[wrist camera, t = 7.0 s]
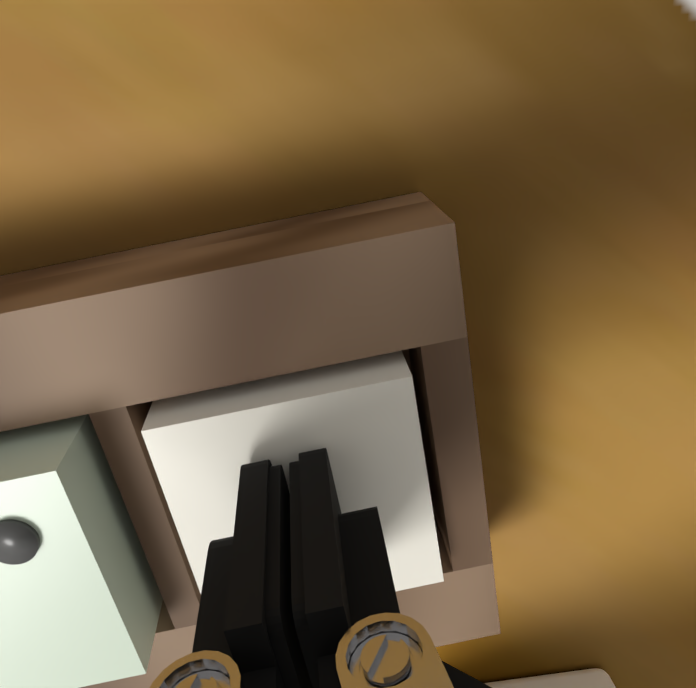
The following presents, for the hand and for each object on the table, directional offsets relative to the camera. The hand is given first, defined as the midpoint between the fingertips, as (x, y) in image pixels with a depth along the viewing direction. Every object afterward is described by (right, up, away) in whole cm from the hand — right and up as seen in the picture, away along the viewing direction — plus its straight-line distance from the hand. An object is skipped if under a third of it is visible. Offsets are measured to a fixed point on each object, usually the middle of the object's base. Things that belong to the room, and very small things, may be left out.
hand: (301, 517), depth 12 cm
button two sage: (-6, -1, +2) cm, 6 cm away
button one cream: (0, +1, +2) cm, 2 cm away
